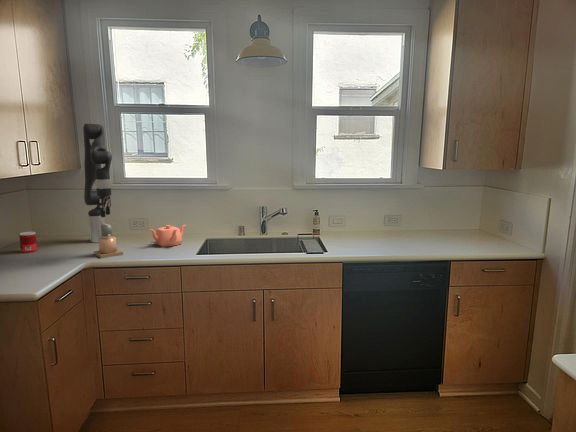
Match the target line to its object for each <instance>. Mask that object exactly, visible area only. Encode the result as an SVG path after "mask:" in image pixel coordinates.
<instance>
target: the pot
mask: <svg viewBox="0 0 576 432" xmlns="http://www.w3.org/2000/svg"><path fill="white" fill-rule="evenodd" d="M186 226H187V224H183V225H181V227H180V228H179V227H177V226H174V225H173V226H172V225H169V224H166V225H165V226H162V227H158V228H156V231H155V230H154V229H151V228H150V229H148V230H149V231H150V232H151V233H152V238H153V239H154V241H155V243H156V245H158V246H159V247H162V248H165V247H174V246H178V245H181V244H182V242H183V238H182V237H183V235H184V230H185V227H186Z"/></svg>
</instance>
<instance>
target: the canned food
mask: <svg viewBox="0 0 576 432" xmlns="http://www.w3.org/2000/svg"><path fill="white" fill-rule="evenodd" d="M18 235H19V245H20V251H21V253H22V254H23V253H24V254H29V253H35V252H37V251H38V243H37V242H38V241H37V233H36V231H24V232H20V233H19V234H18Z"/></svg>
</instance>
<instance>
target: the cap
mask: <svg viewBox="0 0 576 432" xmlns="http://www.w3.org/2000/svg"><path fill="white" fill-rule="evenodd" d="M101 235H102V236H108V237H111V236H113V225H112V224H111V223H105V224H103V225H101Z"/></svg>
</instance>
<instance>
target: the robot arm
mask: <svg viewBox="0 0 576 432" xmlns="http://www.w3.org/2000/svg"><path fill="white" fill-rule="evenodd" d="M82 130H83V132H82V133H83V142H84V143H83V144H84V145H83V147H84V162H83V163H84V195H83V199H84V204H85V205H86V206H95V207H94V208H92V209H90V210H89V211H88V213H87V214H88V224H89V225H88V226H89V240H90V242H91V243H99V238H101V237H103V236H102V235H101V225H103V224H106V219H105V218H106V215H109V216H110V215H111V207H112V203H111V202H112V201H111V199H112V198H111V196H112V184H111V177H110V176H111V175H110V171H111V164H112V159H113V156H112V153H111V152H110V151H108V150H107V148H106V143H105V141H106V139H105V137H106V136H105V135H106V134H105V129H104V126H103V125H102V124H99V123H98V124H97V123H84V124H83V128H82ZM91 140H93V141H92V143H91ZM102 165H104V166H103V167H102ZM94 184H95V190H92V188H93V185H94Z"/></svg>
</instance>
